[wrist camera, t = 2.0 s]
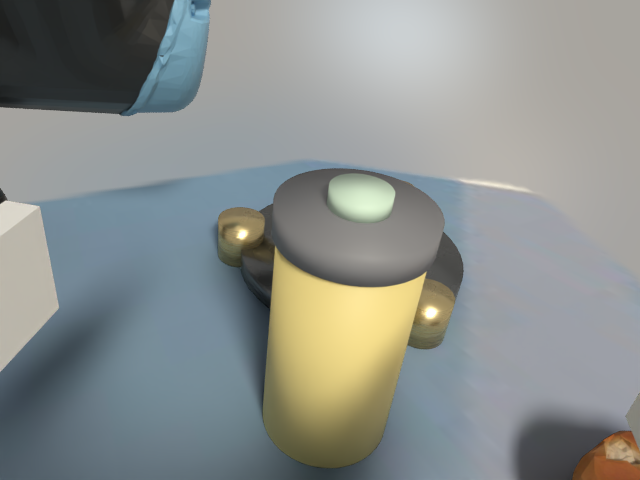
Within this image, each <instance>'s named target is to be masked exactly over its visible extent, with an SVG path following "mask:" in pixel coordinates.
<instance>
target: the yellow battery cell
mask: <svg viewBox="0 0 640 480" xmlns="http://www.w3.org/2000/svg"><path fill="white" fill-rule="evenodd" d="M444 225H445V221H444V216H443V213H442V211H441V209H440V208H439V206H438V205H437V204H436V202H435V201H433V200H432V199H431V198H430V197H429V196H428V195H427V194H425V193H424V192H422V191H421V190H419V189H418V188H416V187H414V186H412V185H410V184H408V183H406V182H403V181H401V180H399V179H396V178H393V177H390V176H387V175H383V174H379V173H375V172H370V171H364V170H356V169H336V168H334V169H321V170H314V171H309V172H305V173H302V174H299V175H296V176H294V177H292V178H290V179H288V180H287V181H285V182H284V183H283V184H281V186H280V187H279V188H278V189H277V191H276V193H275V195H274V201H273V215H272V238H273V242H274V244H275V255H274V268H273V281H272V294H271V307H270V320H269V334H268V347H267V360H266V373H265V386H264V399H263V421H264V425H265V428H266V431H267V433H268V435H269V437H270V438H271V440H272V441H273V442H274V444H275V445H276V446H277V447H278V448H279V449H280V450H281V451H283V452H284V453H285V454H286V455H288V456H289V457H291V458H293V459H295V460H297V461H299V462H301V463H304V464H306V465H310V466H314V467H320V468H339V467H345V466H349V465H352V464H355V463H357V462H359V461H361V460H363V459H364V458H366V457H367V456H369V455H370V454H371V453H372V452H373V451H374V450H375V449H376V448H377V446H378V445H379V443H380V441H381V439H382V437H383V434H384V430H385V426H386V422H387V419H388V415H389V411H390V407H391V404H392V400H393V396H394V392H395V389H396V385H397V381H398V377H399V374H400V370H401V366H402V362H403V359H404V355H405V351H406V347H407V344H408V340H409V336H410V332H411V329H412V325H413V321H414V317H415V314H416V310H417V306H418V302H419V299H420V295H421V291H422V287H423V284H424V280H425V276H426V272H427V271H428V270H429V269H430V267H431V266H432V265H433V263H434V261H435V259H436V255H437V251H438V248H439V244H440V240H441V237H442V233H443V229H444Z"/></svg>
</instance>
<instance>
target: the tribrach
mask: <svg viewBox="0 0 640 480" xmlns="http://www.w3.org/2000/svg"><path fill="white" fill-rule="evenodd" d="M401 181H402V180H401ZM403 182H405V181H403ZM406 183H408V182H406ZM408 184H410V183H408ZM410 185H412V184H410ZM412 186H413V185H412ZM272 215H273V204H271V205H269V206H267V207H265V208H264V209H262V210H260V211H259V212H258V211H256V210H254V209H250V208H243V207H237V208H231V209H227V210H225V211H223V212H222V213H221V214H220V215H219V218H218V256H219V259H220V260H221V261H222V262H224V263H225V264H227V265H230V266H234V267H241V272H242V275H243V277H244V280H245V282H246V283H247V285H248V287H249V288H250V290H251V291H252V292H253V293H254V294H255V296H256V297H257V298H258V299H259V300H260V301H261V302H263V303H264V304H265V305H266V306H267V307H268V308H270V307H271V294H272V281H273V268H274V255H275V244H274V242H273V238H272ZM463 272H464V271H463V262H462V258H461V255H460V253H459V251H458V249H457V247H456V246H455V245H454V243H453V242H452V240H451V239H450V238H449V237H448V236H447V235H446V234H445V233H444V232H443V233H442V237H441V240H440V244H439V248H438V251H437V255H436V259H435V261H434V263H433V265H432V266H431V267H430V269H429V270H428V271H427V272H426V276H425V280H424V284H423V287H422V291H421V295H420V299H419V302H418V306H417V310H416V314H415V317H414V321H413V325H412V329H411V332H410V336H409V340H408V344H407V345H409V346H411V347H414V348H418V349H432V348H435V347H437V346H439V345H440V344H441V343H442V341H443V339H444V336H445V333H446V329H447V326H448V323H449V320H450V317H451V313H452V310H453V307H454V304H455V300H456V297H457V295H458V291H459V288H460V285H461V282H462V278H463Z"/></svg>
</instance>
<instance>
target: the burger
mask: <svg viewBox="0 0 640 480" xmlns="http://www.w3.org/2000/svg"><path fill="white" fill-rule="evenodd" d="M572 480H640V450H639V448H638V445H637V443H636V440H635V438H634V436H633V433H632V431H619V432H616V433H614V434H612V435H611V436H609V437H607V438H605V439H604V440H603V441H602V442H600V443H599V444H598V445H597V446H596V447H595V448H593V449H592V450H591V451H589V452H588V453H587V454H585V455H584V456H583V457H582V458H581V460H580V461H579V463H578V465H577V466H576V468H575V470H574V473H573V478H572Z"/></svg>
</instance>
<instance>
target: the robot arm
mask: <svg viewBox="0 0 640 480" xmlns="http://www.w3.org/2000/svg"><path fill="white" fill-rule="evenodd" d="M210 5H211V0H0V107H6V108H23V109H41V110H60V111H77V112H93V113H94V112H95V113H111V114H120V115H122V116H130V115H133V114H136V113H145V112H176V111H179V110H181V109H184V108H185V107H186V106H188V105H189V104H190V103H191V102H192V101H193V99H194V98H195V96H196V94H197V92H198V89H199V86H200V82H201V78H202V73H203V68H204V62H205V55H206V48H207V41H208V32H209V7H210ZM58 309H59V305H58V300H57V294H56V289H55V284H54V279H53V273H52V268H51V263H50V258H49V252H48V247H47V242H46V237H45V232H44V226H43V221H42V216H41V211H40V206H35V205H29V204H23V203H18V202H12V201H8V200H7V198H6V196H5V194H4V193H3V191H2V190H1V189H0V372H1V371H2V370H3V368H4V367H5V366H6V365H7V364H8V363H9V362H10V361H11V360H12V359H13V358H14V356H15V355H16V354H17V353H18V352H19V351H20V350H21V349H22V348H23V347H24V346H25V345H26V343H27V342H28V341H29V340H30V339H31V338H32V337H33V336H34V335H35V334H36V333H37V332H38V330H39V329H40V328H41V327H42V326H43V325H44V324H45V323H46V322H47V321H48V320H49V319H50V317H51V316H52V315H53V314H54V313H55V312H56V311H57V310H58ZM626 419H627V421H628V423H629V426H630V428H631V431H632V433H633V436H634V438H635V440H636V443H637V445H638V448H639V450H640V393H639V394H638V396H637V398H636V399H635V401H634V403H633V405H632V406H631V408H630V410H629V411H628V413H627V415H626Z"/></svg>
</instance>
